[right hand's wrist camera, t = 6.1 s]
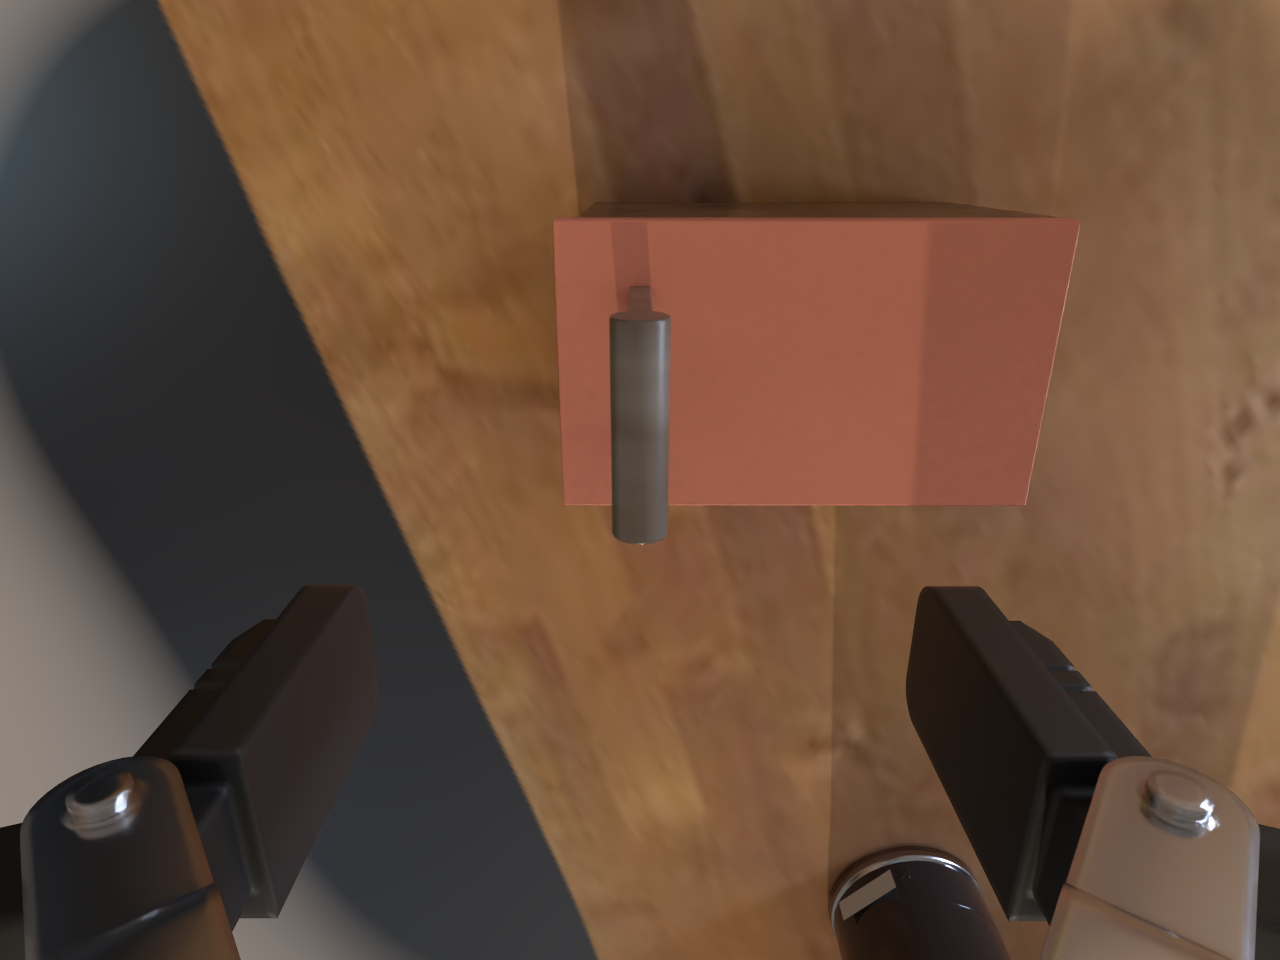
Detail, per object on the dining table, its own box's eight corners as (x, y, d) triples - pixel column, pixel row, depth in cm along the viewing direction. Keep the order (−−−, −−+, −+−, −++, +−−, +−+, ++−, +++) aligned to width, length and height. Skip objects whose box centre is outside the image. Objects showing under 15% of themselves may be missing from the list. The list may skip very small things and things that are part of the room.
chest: (598, 412, 38) (585, 491, 29) (594, 202, 35) (577, 217, 26) (921, 412, 38) (1009, 491, 29) (950, 202, 35) (1061, 217, 26)
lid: (566, 492, 29) (540, 606, 22) (556, 217, 26) (521, 240, 18) (1010, 492, 29) (1138, 606, 22) (1061, 217, 26) (1236, 240, 18)
